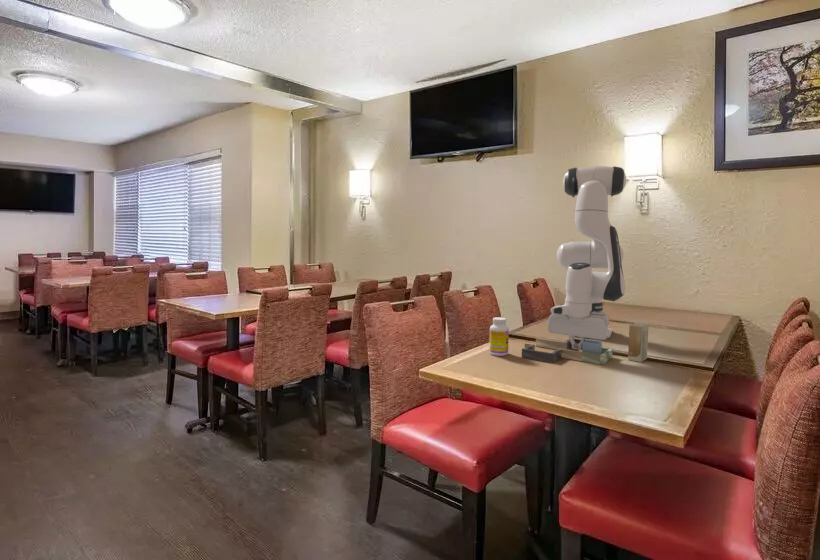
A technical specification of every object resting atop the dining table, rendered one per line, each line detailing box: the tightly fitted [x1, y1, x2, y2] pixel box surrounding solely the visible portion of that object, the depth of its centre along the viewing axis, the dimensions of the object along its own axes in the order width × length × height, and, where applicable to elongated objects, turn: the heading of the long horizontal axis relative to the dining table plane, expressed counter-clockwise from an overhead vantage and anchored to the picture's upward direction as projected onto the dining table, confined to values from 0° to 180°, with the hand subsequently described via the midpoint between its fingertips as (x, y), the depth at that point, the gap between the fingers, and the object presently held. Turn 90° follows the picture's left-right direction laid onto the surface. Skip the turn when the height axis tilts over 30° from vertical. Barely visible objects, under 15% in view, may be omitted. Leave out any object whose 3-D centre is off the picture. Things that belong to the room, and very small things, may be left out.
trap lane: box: [521, 337, 614, 366], centre depth 170 cm, size 27×28×3 cm
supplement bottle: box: [488, 316, 510, 357], centre depth 171 cm, size 7×7×13 cm
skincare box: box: [627, 322, 650, 363], centre depth 163 cm, size 6×4×12 cm
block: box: [581, 338, 603, 355], centre depth 165 cm, size 5×5×6 cm
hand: (576, 348), depth 168 cm, fingers closed
